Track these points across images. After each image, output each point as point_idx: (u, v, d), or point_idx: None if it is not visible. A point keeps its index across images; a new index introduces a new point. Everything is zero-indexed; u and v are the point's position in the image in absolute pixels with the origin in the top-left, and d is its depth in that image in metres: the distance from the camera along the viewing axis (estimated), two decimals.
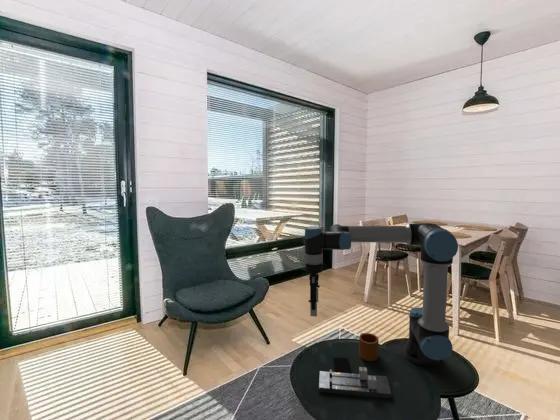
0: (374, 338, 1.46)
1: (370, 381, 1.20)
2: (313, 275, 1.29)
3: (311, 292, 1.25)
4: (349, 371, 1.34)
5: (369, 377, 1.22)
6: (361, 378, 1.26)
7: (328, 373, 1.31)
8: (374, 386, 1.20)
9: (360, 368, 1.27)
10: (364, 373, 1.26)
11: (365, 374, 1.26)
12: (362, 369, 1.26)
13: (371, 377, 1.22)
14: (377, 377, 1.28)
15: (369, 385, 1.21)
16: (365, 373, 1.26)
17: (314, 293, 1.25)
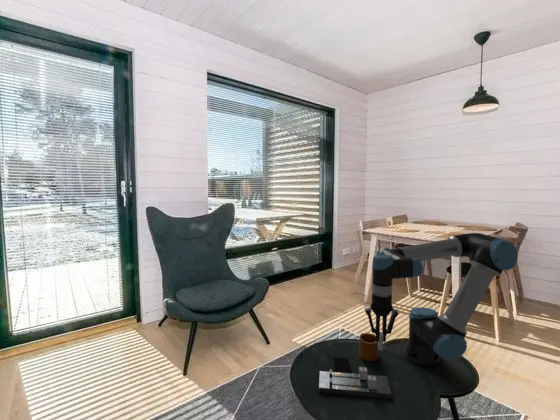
0: (374, 338, 1.46)
1: (370, 381, 1.20)
2: None
3: None
4: (349, 371, 1.34)
5: (369, 377, 1.22)
6: (361, 378, 1.26)
7: (328, 373, 1.31)
8: (374, 386, 1.20)
9: (360, 368, 1.27)
10: (364, 373, 1.26)
11: (365, 374, 1.26)
12: (362, 369, 1.26)
13: (371, 377, 1.22)
14: (377, 377, 1.28)
15: (369, 385, 1.21)
16: (365, 373, 1.26)
17: None
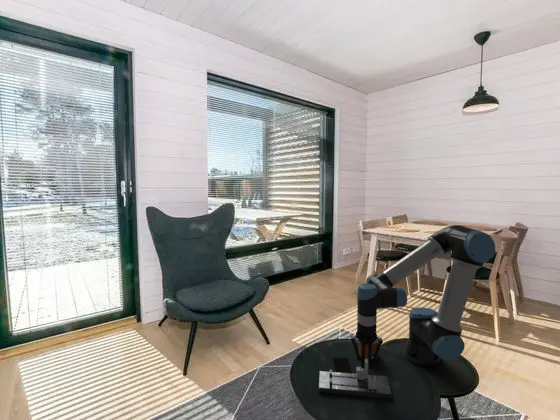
0: None
1: (370, 381, 1.20)
2: None
3: None
4: (349, 371, 1.34)
5: (369, 377, 1.22)
6: (358, 378, 1.26)
7: (328, 373, 1.31)
8: (374, 386, 1.20)
9: (357, 368, 1.27)
10: (361, 372, 1.26)
11: (362, 374, 1.26)
12: (359, 369, 1.27)
13: (371, 377, 1.22)
14: (377, 377, 1.28)
15: (369, 385, 1.21)
16: (362, 373, 1.26)
17: (355, 351, 1.25)
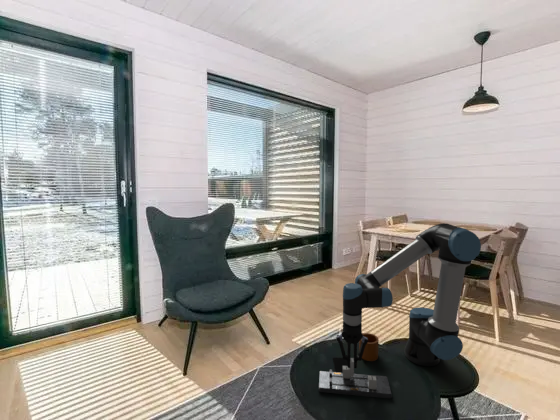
0: (374, 338, 1.46)
1: (370, 381, 1.20)
2: None
3: None
4: None
5: (369, 377, 1.22)
6: (344, 377, 1.27)
7: (328, 373, 1.31)
8: (374, 386, 1.20)
9: (343, 367, 1.28)
10: (347, 371, 1.27)
11: (348, 373, 1.27)
12: (345, 368, 1.28)
13: (371, 377, 1.22)
14: (377, 377, 1.28)
15: (369, 385, 1.21)
16: (348, 372, 1.27)
17: (341, 350, 1.26)
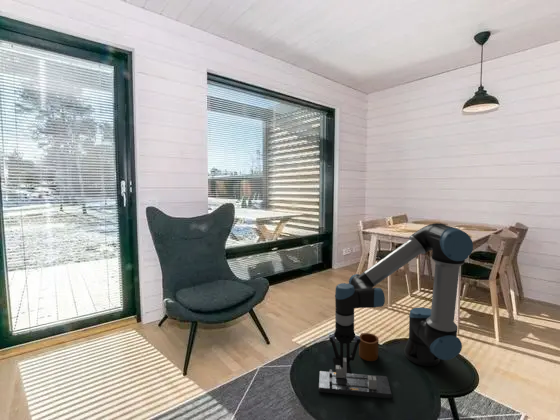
0: (374, 338, 1.46)
1: (370, 381, 1.20)
2: None
3: None
4: (349, 371, 1.34)
5: (369, 377, 1.22)
6: (337, 376, 1.28)
7: (328, 373, 1.31)
8: (374, 386, 1.20)
9: (336, 366, 1.29)
10: (340, 371, 1.27)
11: (341, 372, 1.27)
12: (338, 367, 1.28)
13: (371, 377, 1.22)
14: (377, 377, 1.28)
15: (369, 385, 1.21)
16: (341, 371, 1.27)
17: (334, 350, 1.27)
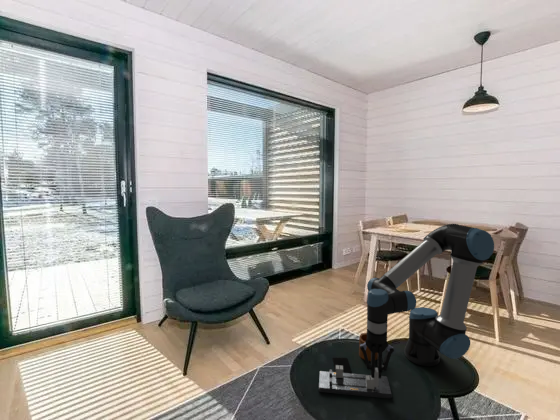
0: None
1: (368, 381, 1.21)
2: None
3: None
4: (349, 371, 1.35)
5: (367, 377, 1.22)
6: (337, 376, 1.28)
7: (328, 373, 1.31)
8: (372, 386, 1.21)
9: (336, 366, 1.29)
10: (340, 371, 1.27)
11: (341, 372, 1.27)
12: (338, 367, 1.28)
13: (369, 377, 1.22)
14: None
15: (367, 385, 1.21)
16: (341, 371, 1.27)
17: (365, 360, 1.20)
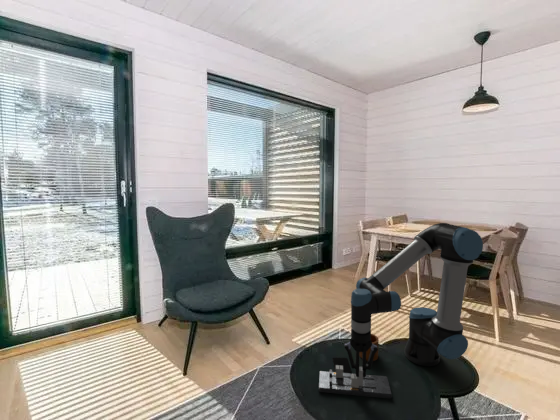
0: (374, 338, 1.46)
1: (353, 380, 1.22)
2: None
3: None
4: (349, 371, 1.35)
5: (352, 376, 1.23)
6: (337, 376, 1.28)
7: (328, 373, 1.31)
8: (357, 384, 1.22)
9: (336, 366, 1.29)
10: (340, 371, 1.27)
11: (341, 372, 1.27)
12: (338, 367, 1.28)
13: (354, 376, 1.23)
14: (377, 377, 1.28)
15: (352, 384, 1.22)
16: (341, 371, 1.27)
17: None
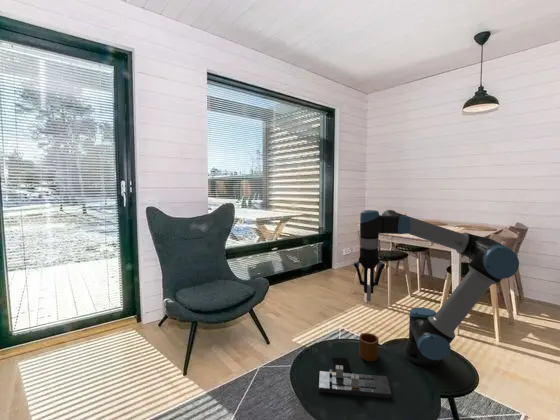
0: (374, 338, 1.46)
1: (353, 380, 1.22)
2: None
3: None
4: (349, 371, 1.35)
5: (352, 376, 1.23)
6: (337, 376, 1.28)
7: (328, 373, 1.31)
8: (357, 384, 1.22)
9: (336, 366, 1.29)
10: (340, 371, 1.27)
11: (341, 372, 1.27)
12: (338, 367, 1.28)
13: (354, 376, 1.23)
14: (377, 377, 1.28)
15: (352, 384, 1.22)
16: (341, 371, 1.27)
17: (358, 276, 1.30)
